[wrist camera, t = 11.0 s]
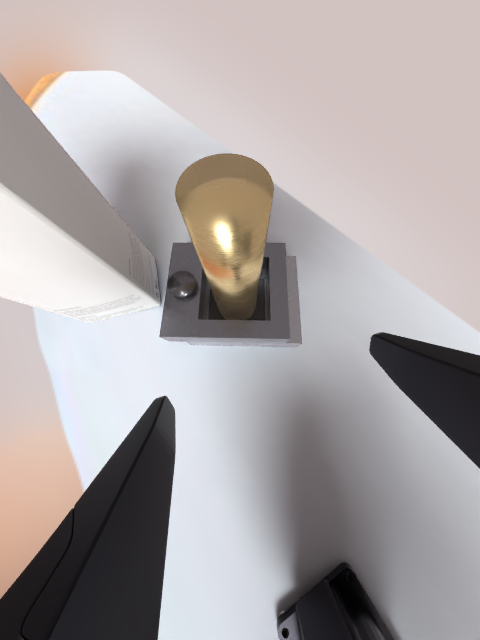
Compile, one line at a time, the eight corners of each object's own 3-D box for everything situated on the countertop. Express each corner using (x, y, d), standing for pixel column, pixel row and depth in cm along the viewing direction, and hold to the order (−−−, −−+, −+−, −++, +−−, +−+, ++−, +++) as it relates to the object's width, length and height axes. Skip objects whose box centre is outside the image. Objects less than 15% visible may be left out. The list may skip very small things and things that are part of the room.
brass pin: (262, 299, 20) (291, 177, 8) (241, 329, 19) (236, 245, 7) (232, 280, 21) (213, 141, 8) (210, 309, 20) (155, 200, 8)
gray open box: (291, 267, 21) (303, 238, 17) (296, 346, 19) (311, 338, 14) (185, 266, 22) (170, 238, 17) (176, 344, 19) (156, 335, 15)
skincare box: (157, 258, 22) (-29, 11, 7) (163, 310, 20) (-71, 124, 5) (84, 274, 22) (-273, 48, 7) (84, 328, 20) (-410, 184, 5)
